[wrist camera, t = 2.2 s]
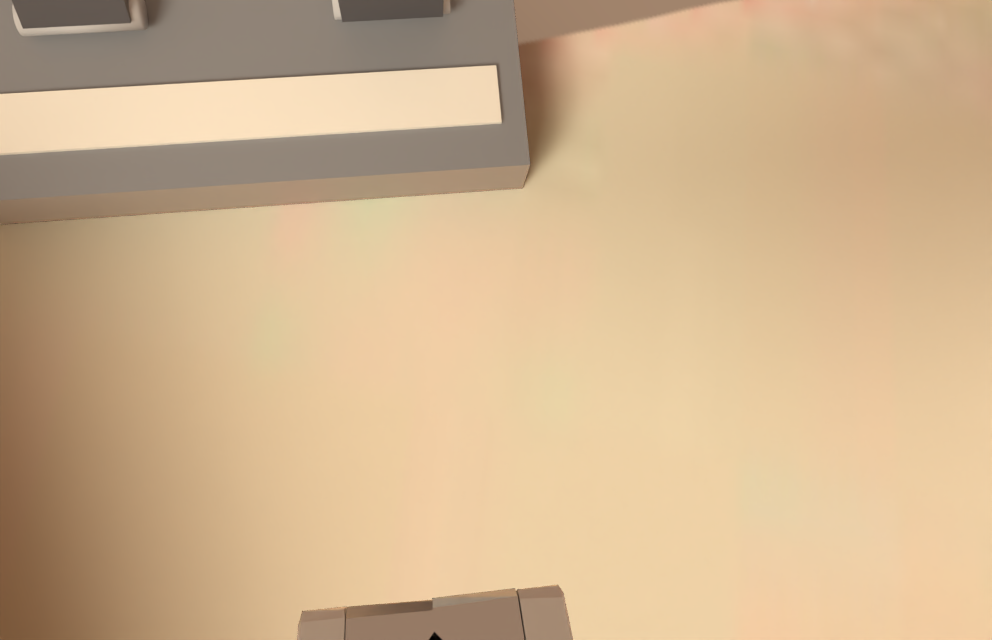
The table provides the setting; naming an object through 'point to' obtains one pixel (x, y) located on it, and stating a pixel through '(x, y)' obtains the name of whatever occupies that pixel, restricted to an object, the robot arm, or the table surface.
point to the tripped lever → (388, 9)
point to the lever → (78, 16)
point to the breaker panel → (258, 109)
